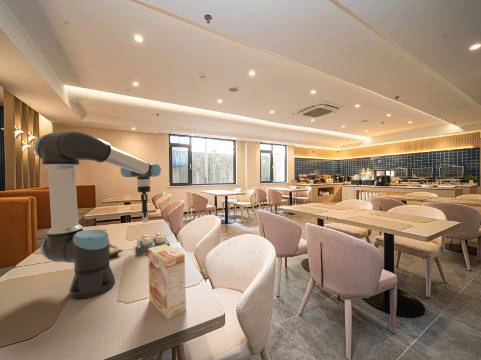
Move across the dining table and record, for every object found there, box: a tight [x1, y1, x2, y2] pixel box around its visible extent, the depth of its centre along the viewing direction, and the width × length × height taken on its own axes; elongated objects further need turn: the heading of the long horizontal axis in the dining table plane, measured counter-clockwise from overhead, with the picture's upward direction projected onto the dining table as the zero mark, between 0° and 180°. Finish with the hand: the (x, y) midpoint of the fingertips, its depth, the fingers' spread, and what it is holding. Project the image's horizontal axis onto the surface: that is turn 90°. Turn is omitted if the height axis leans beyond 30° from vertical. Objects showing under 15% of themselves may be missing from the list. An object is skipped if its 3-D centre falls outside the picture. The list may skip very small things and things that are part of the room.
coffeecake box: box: [147, 244, 187, 321], centre depth 71 cm, size 15×7×20 cm, turn 45°
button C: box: [154, 232, 164, 241], centre depth 136 cm, size 5×5×4 cm
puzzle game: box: [109, 242, 123, 258], centre depth 120 cm, size 12×5×20 cm
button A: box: [156, 235, 164, 245], centre depth 129 cm, size 5×5×4 cm
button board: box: [136, 235, 171, 256], centre depth 131 cm, size 18×18×4 cm
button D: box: [140, 234, 151, 243], centre depth 132 cm, size 5×5×4 cm
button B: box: [142, 237, 152, 247], centre depth 125 cm, size 5×5×4 cm
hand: (144, 221), depth 132 cm, fingers open, 4 cm apart
